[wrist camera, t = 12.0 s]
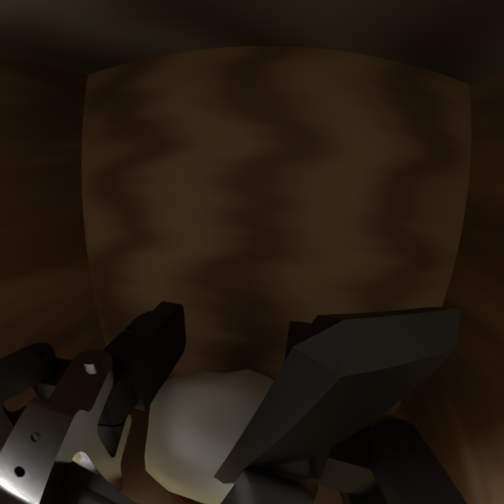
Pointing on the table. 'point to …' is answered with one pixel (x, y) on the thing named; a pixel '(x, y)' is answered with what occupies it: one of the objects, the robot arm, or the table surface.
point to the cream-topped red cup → (292, 399)
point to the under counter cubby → (259, 190)
